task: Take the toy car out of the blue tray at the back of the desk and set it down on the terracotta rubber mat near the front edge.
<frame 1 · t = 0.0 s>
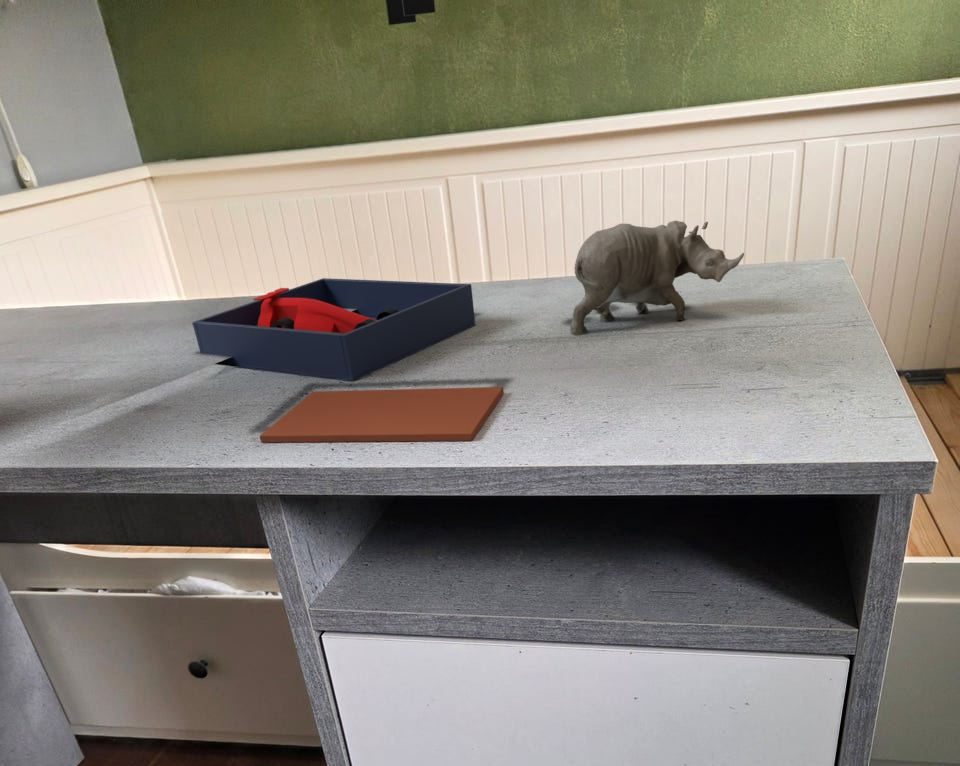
hand: (410, 19, 82), 28 cm above the table, tool pointing down, fingers open, 13 cm apart
mat: (385, 417, 74), on the table
blue tray: (340, 343, 96), on the table
toy car: (340, 342, 96), resting on blue tray
rhinoceros figurine: (648, 321, 91), on the table
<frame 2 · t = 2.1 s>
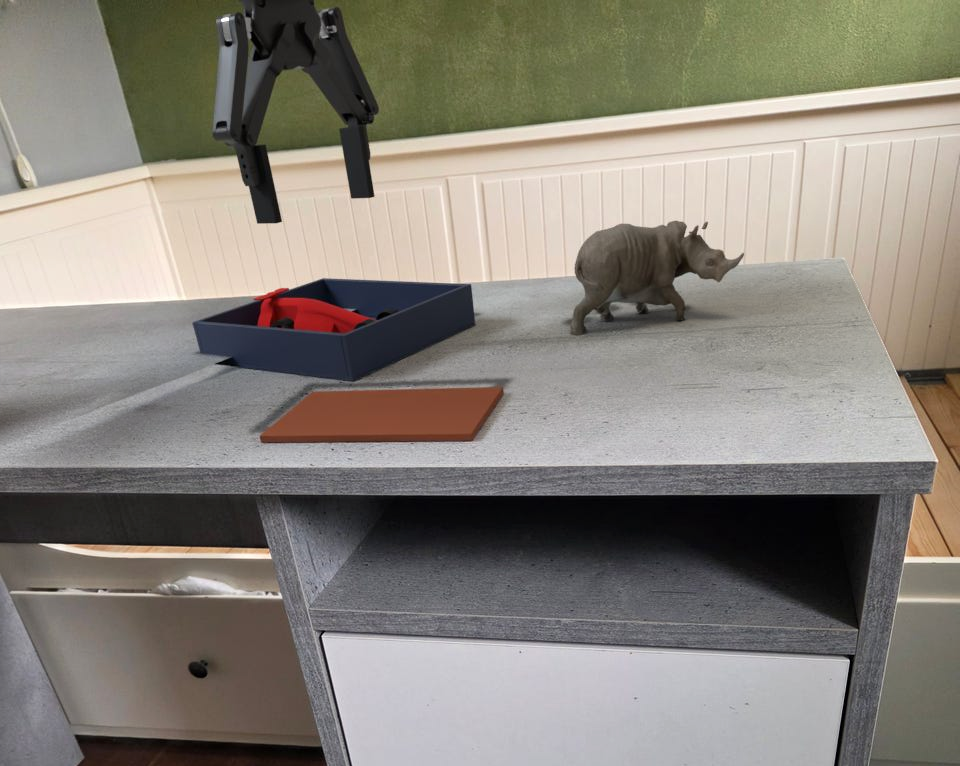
hand: (318, 210, 89), 13 cm above the table, tool pointing down, fingers open, 13 cm apart
nothing on the table moved.
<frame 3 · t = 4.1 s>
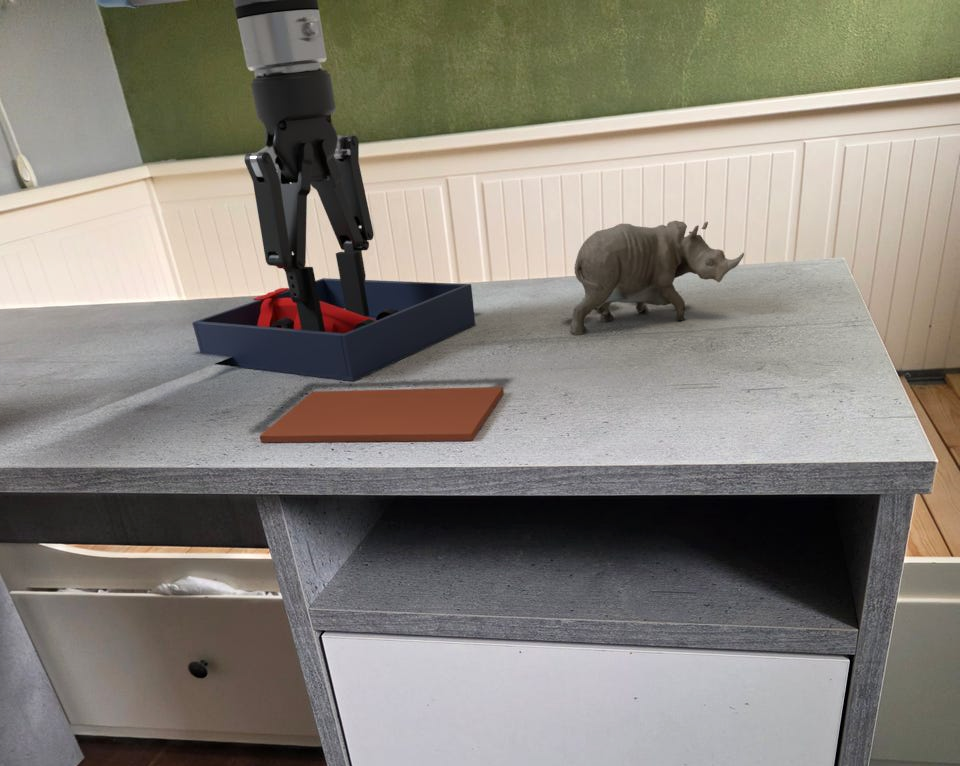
hand: (336, 323, 95), 2 cm above the table, tool pointing down, fingers closed on toy car, 6 cm apart
toy car: (339, 342, 96), resting on blue tray, touching gripper
everything else where it was.
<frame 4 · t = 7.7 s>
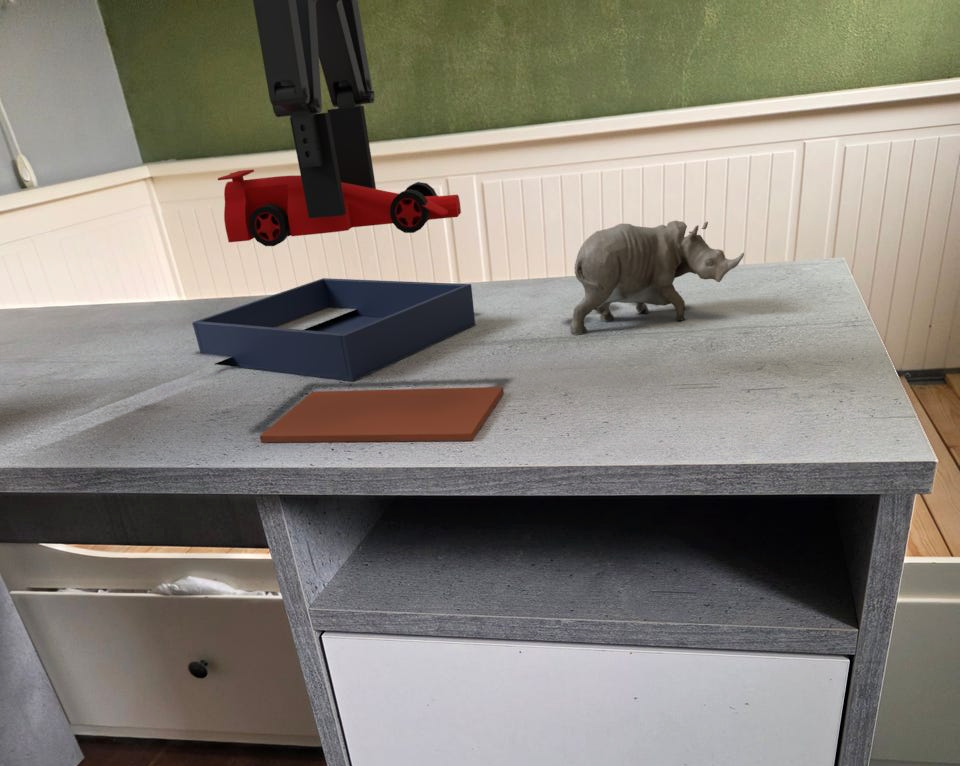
hand: (344, 207, 68), 16 cm above the table, tool pointing down, fingers closed on toy car, 6 cm apart
toy car: (349, 236, 69), point 14 cm above the table, touching gripper
everything else where it was.
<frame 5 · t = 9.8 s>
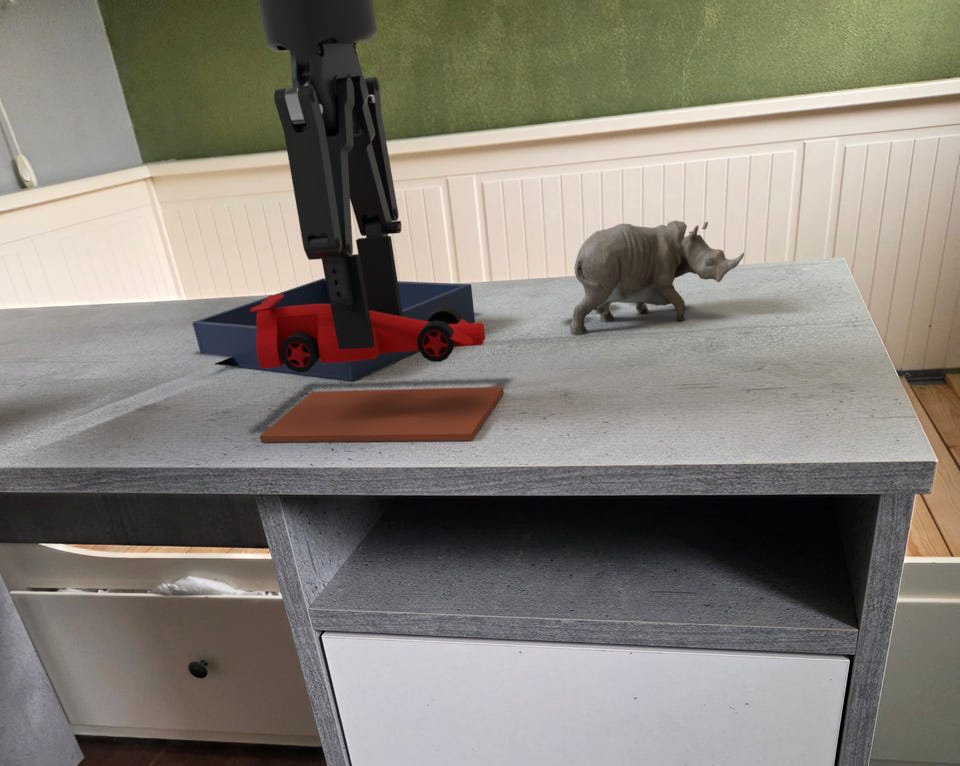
hand: (372, 333, 70), 7 cm above the table, tool pointing down, fingers closed on toy car, 6 cm apart
toy car: (377, 359, 71), point 5 cm above the table, touching gripper
everything else where it was.
when the fingers open (2 cm above the table, at t = 11.3 s): toy car stays where it is, resting on mat.
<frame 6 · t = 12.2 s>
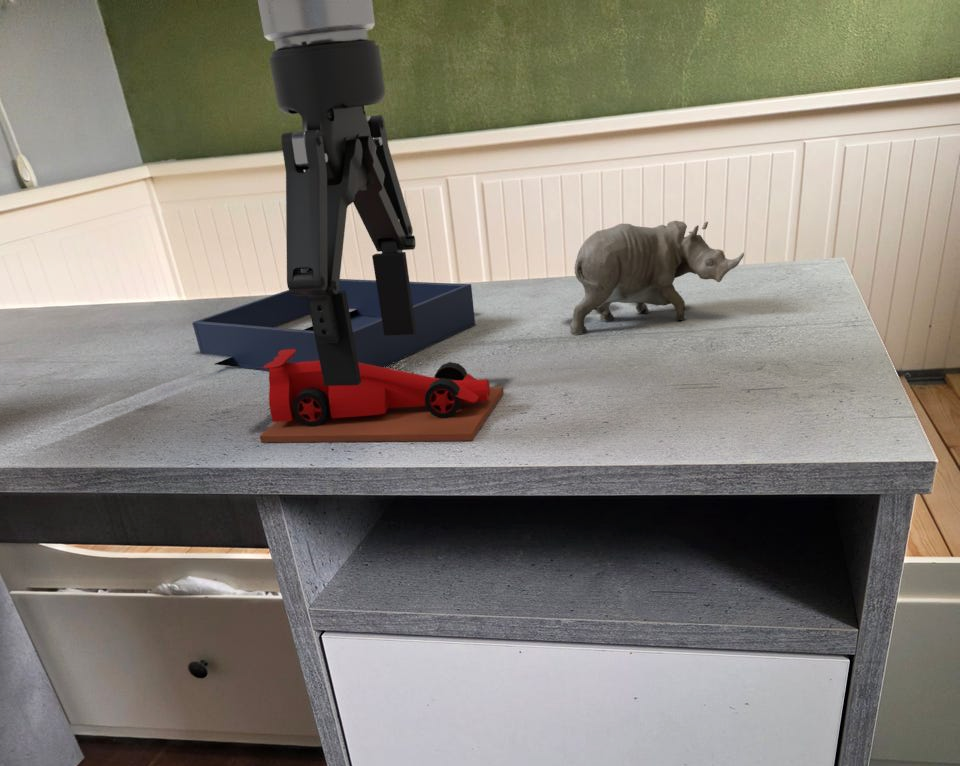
hand: (373, 357, 71), 5 cm above the table, tool pointing down, fingers open, 13 cm apart
toy car: (385, 412, 73), resting on mat
everything else where it was.
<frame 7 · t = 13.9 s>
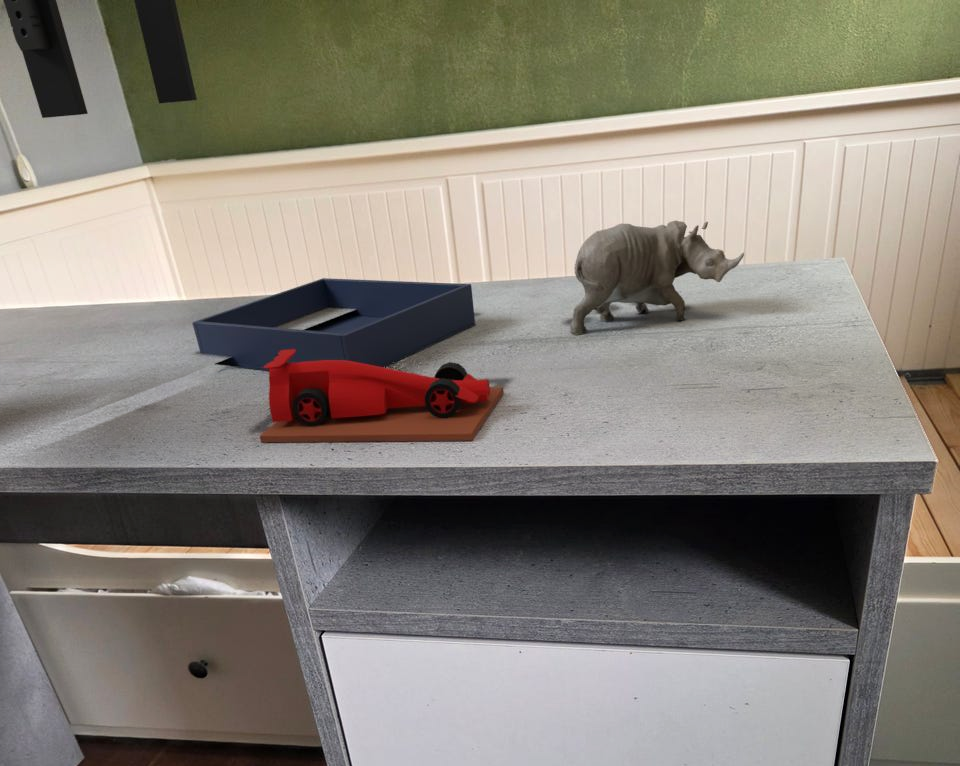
hand: (126, 109, 59), 24 cm above the table, tool pointing down, fingers open, 13 cm apart
nothing on the table moved.
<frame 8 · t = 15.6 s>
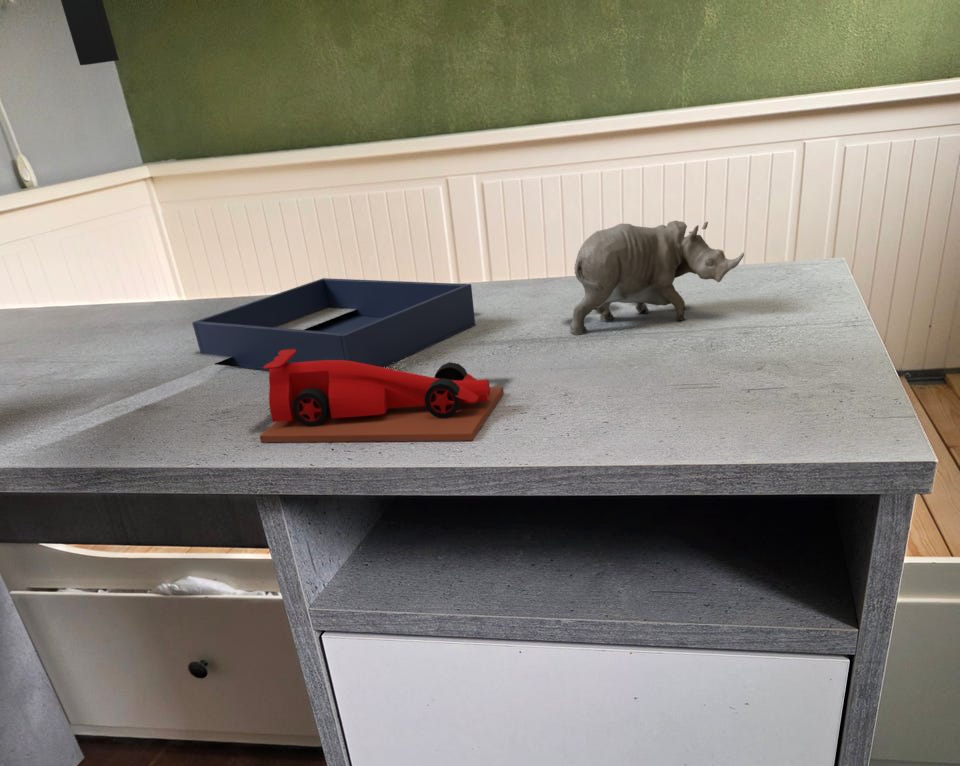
hand: (37, 66, 56), 27 cm above the table, tool pointing down, fingers open, 13 cm apart
nothing on the table moved.
at the end: toy car inside the target area on the mat (0.1 cm from its centre), point 0.4 cm above the mat's base; the gripper is holding nothing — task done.
